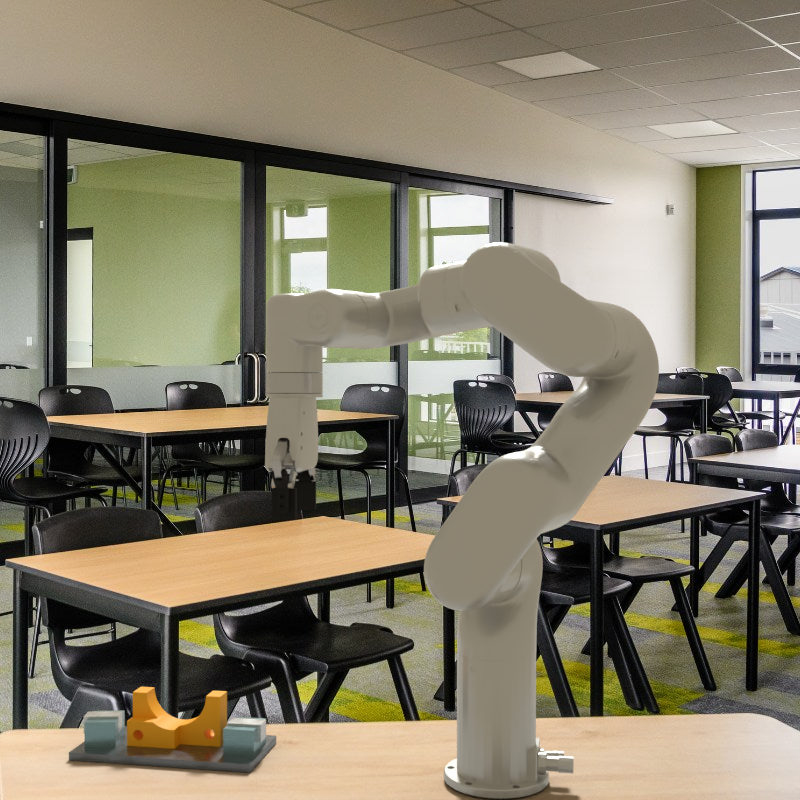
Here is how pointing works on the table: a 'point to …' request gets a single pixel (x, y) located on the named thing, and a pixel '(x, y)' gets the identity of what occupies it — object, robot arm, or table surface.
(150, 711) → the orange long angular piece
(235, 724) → the workpiece vise
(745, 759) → the table surface
